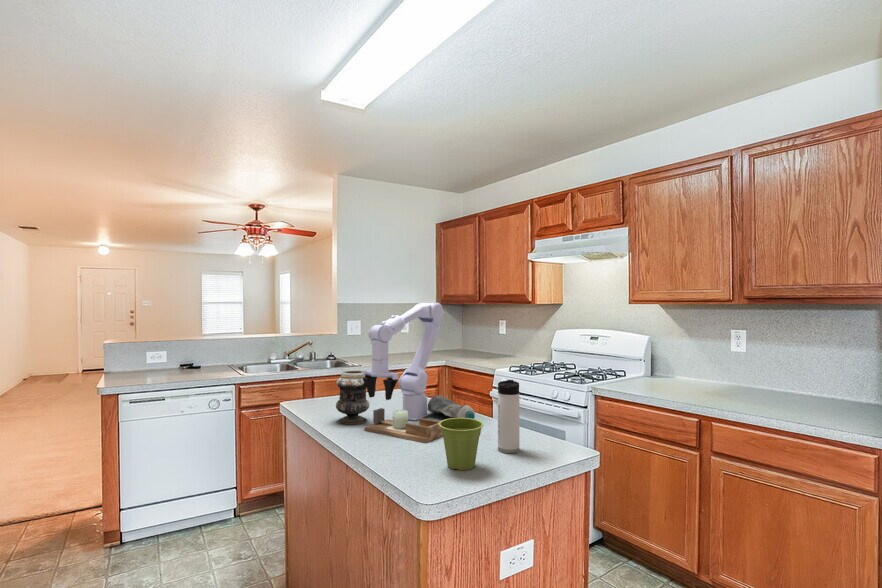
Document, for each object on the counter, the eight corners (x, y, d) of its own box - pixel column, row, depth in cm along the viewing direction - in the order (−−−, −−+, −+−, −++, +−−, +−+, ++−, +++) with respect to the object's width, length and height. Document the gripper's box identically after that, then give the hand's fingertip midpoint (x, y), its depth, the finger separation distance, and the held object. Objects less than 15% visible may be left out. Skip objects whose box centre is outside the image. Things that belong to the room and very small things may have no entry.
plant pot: (429, 466, 123) (429, 423, 123) (460, 455, 131) (460, 415, 131) (462, 478, 114) (462, 432, 114) (492, 466, 123) (492, 423, 123)
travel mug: (521, 447, 138) (521, 380, 138) (517, 454, 132) (517, 383, 132) (500, 445, 140) (500, 379, 140) (495, 452, 134) (495, 382, 134)
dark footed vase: (366, 425, 162) (366, 373, 162) (332, 425, 162) (332, 373, 162) (372, 416, 174) (372, 368, 174) (339, 416, 174) (340, 368, 175)
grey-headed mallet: (381, 420, 163) (381, 406, 163) (410, 426, 156) (410, 411, 156) (372, 423, 159) (372, 409, 159) (401, 429, 152) (401, 414, 152)
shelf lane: (387, 422, 166) (387, 410, 166) (446, 433, 152) (446, 420, 152) (364, 430, 156) (364, 418, 156) (425, 443, 142) (425, 429, 142)
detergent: (422, 413, 180) (453, 427, 157) (423, 394, 180) (454, 406, 158) (451, 412, 186) (486, 426, 163) (453, 394, 186) (487, 405, 164)
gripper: (356, 359, 163) (356, 397, 163) (389, 362, 155) (388, 402, 155) (370, 357, 169) (370, 394, 169) (401, 359, 161) (401, 399, 161)
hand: (380, 398), depth 163 cm, fingers open, 7 cm apart
